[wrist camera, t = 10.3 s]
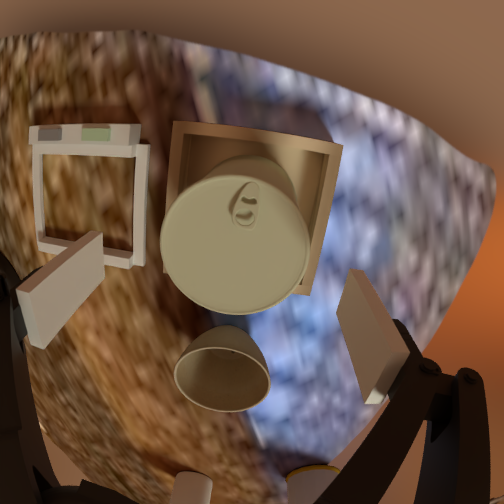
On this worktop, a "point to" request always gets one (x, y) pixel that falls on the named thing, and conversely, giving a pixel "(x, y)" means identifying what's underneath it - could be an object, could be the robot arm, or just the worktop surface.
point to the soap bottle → (309, 483)
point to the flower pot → (223, 371)
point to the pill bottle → (191, 488)
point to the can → (237, 237)
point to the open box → (270, 147)
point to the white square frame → (98, 144)
